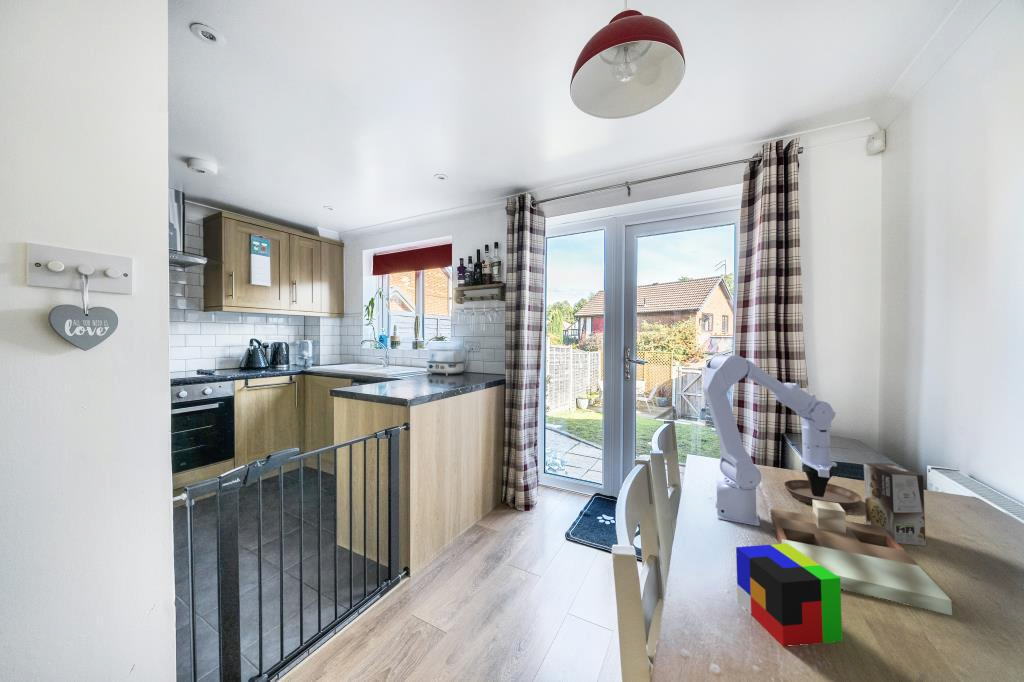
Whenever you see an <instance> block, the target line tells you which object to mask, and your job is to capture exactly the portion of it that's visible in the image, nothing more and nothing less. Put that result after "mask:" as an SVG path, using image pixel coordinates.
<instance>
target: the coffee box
mask: <svg viewBox="0 0 1024 682" xmlns="http://www.w3.org/2000/svg"><path fill="white" fill-rule="evenodd" d="M863 475H864V477H863V478H864V480H863V481H864V497H865V498H864V499H865V500H864V502H865V520H866V525H873V526H879V527H883V528H884V529H885V530H886V532H887V533H888V534H889V535H890V536H891V537H892V538H893V539H894V540H895V541H896V542H897V543H898V544H903V545H914V546H926V545H927V543H926V540H927V539H926V520H925V519H926V518H925V517H926V516H925V513H926V512H925V489H924V485H925V484H924V475H923V474H920V473H919V472H916V471H912V470H910V469H907V468H904V467H902V466H899V465H896V464H893V463H891V462H890V463H888V462H887V463H886V462H873V463H872V462H863Z"/></svg>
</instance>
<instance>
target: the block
mask: <svg viewBox="0 0 1024 682" xmlns="http://www.w3.org/2000/svg"><path fill="white" fill-rule="evenodd" d="M812 502H813V505H812V516H813V520H814V522H815V524H816V525H817V527H818V529H824V530H829V531H835V532H841V533H846V521H847V519H846V511H845V509H843V508H842V507H841V506H840V505H839V503H833V502H826V501H819V500H812Z"/></svg>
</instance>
